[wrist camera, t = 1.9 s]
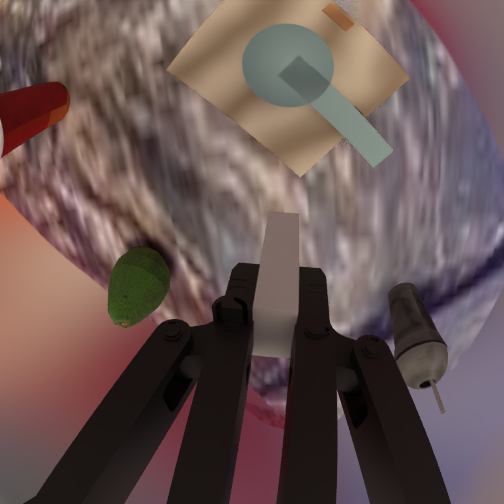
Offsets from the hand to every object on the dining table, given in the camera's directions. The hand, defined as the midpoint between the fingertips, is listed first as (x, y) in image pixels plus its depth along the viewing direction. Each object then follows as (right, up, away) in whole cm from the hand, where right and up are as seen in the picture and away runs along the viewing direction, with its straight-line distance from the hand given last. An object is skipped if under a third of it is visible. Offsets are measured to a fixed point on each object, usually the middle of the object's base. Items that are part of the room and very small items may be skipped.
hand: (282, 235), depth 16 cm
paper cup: (-27, +18, +14) cm, 35 cm away
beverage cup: (+21, -7, +26) cm, 34 cm away
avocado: (-16, -2, +27) cm, 31 cm away
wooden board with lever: (+2, +18, +10) cm, 20 cm away
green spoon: (+4, +13, +8) cm, 16 cm away
